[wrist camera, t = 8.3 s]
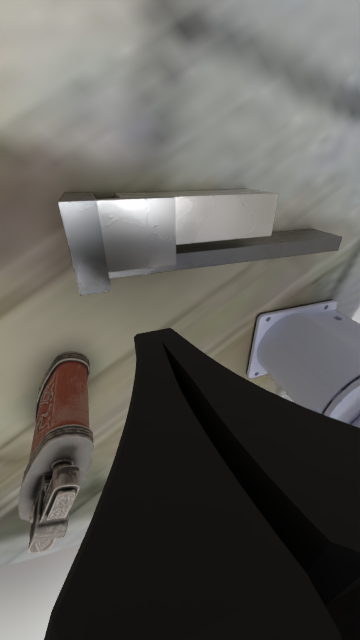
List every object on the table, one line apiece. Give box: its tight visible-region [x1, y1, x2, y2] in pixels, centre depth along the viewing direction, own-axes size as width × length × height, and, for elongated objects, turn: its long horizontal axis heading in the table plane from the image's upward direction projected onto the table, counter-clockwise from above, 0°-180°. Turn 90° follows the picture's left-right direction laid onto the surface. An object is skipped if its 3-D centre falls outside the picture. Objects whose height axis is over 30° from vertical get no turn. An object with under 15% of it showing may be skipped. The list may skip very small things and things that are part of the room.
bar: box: [115, 189, 279, 245], centre depth 15 cm, size 9×2×4 cm, turn 90°
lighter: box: [18, 352, 94, 553], centre depth 17 cm, size 8×3×10 cm, turn 153°
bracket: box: [58, 192, 342, 296], centre depth 16 cm, size 18×4×5 cm, turn 90°
